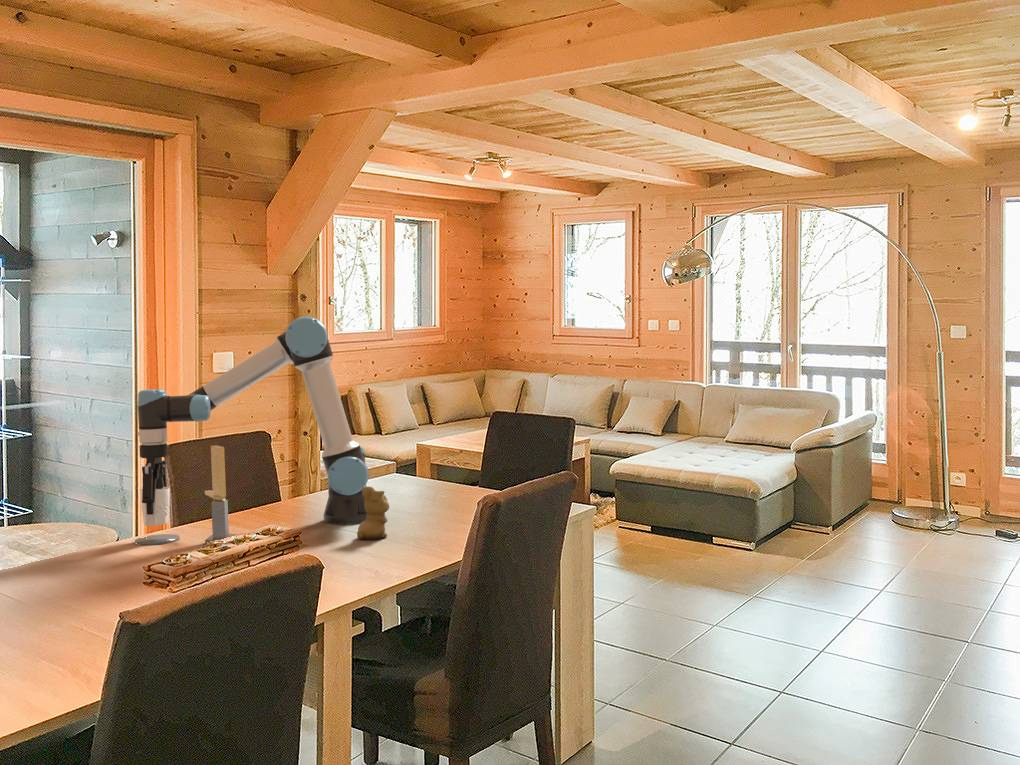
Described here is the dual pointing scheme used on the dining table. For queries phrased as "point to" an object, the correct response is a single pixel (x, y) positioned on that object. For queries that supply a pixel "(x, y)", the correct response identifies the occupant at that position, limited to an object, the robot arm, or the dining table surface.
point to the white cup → (159, 505)
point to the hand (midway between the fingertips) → (156, 522)
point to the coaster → (157, 539)
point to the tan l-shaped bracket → (217, 474)
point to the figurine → (373, 515)
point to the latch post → (219, 521)
